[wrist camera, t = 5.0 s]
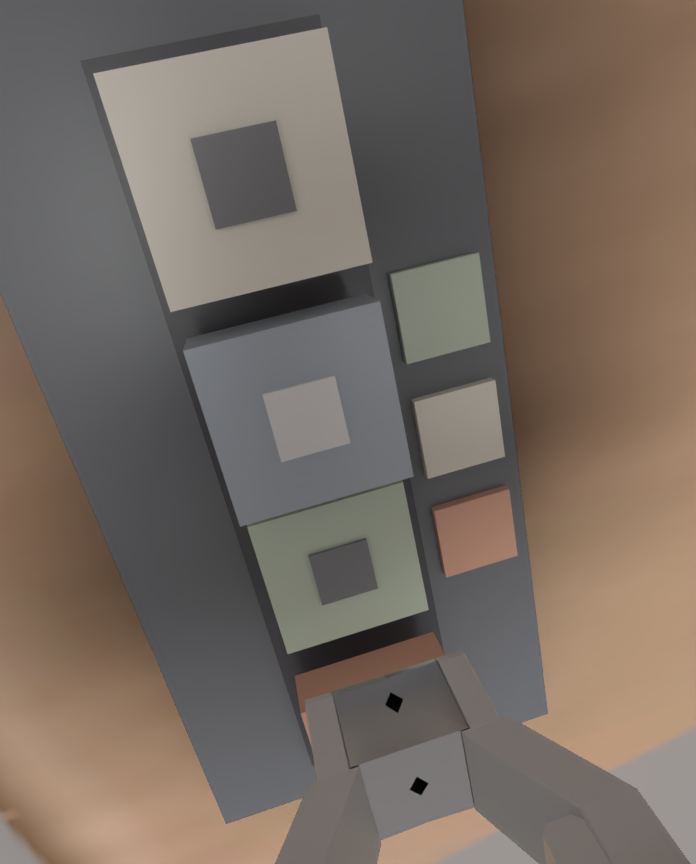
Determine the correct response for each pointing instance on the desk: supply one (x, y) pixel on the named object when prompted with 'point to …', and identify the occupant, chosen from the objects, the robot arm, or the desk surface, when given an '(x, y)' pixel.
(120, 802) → the desk surface
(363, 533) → the sage key
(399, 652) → the terracotta key
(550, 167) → the desk surface
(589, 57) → the desk surface
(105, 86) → the cream key
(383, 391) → the slate key
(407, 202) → the keypad base
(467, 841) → the desk surface
